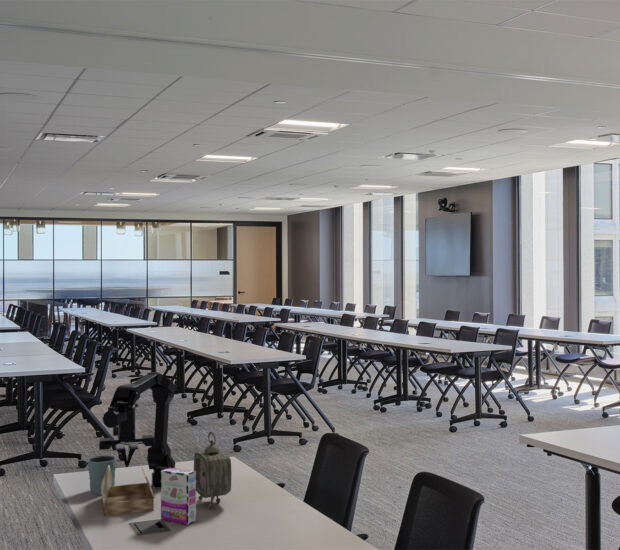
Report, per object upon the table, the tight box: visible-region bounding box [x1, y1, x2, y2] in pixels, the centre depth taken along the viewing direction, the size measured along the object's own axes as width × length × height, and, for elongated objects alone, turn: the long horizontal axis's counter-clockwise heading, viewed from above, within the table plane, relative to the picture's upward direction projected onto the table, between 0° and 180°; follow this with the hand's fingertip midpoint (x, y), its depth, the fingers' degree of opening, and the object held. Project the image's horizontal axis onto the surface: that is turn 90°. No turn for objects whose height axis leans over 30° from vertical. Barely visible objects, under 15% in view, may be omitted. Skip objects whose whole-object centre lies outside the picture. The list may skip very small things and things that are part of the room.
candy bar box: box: [160, 467, 197, 526], centre depth 240 cm, size 11×5×16 cm, turn 62°
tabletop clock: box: [193, 431, 232, 510], centre depth 258 cm, size 14×9×25 cm, turn 27°
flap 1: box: [101, 465, 113, 504], centre depth 255 cm, size 8×19×1 cm
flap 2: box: [139, 462, 156, 499], centre depth 260 cm, size 8×19×1 cm
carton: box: [101, 482, 155, 516], centre depth 257 cm, size 16×20×4 cm
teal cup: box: [87, 455, 117, 495], centre depth 273 cm, size 10×10×12 cm
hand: (126, 466), depth 257 cm, fingers closed
